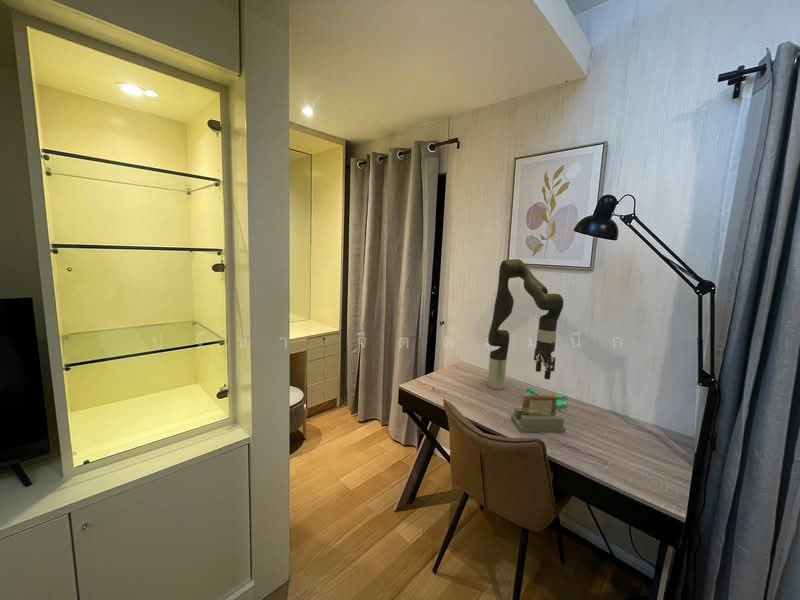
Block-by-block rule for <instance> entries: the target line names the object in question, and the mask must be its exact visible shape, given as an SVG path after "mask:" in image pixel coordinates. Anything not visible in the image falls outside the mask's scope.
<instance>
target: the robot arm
mask: <svg viewBox="0 0 800 600" xmlns="http://www.w3.org/2000/svg"><path fill="white" fill-rule="evenodd" d="M515 278H516V279H517V278H521V280H523V287H524V288H523V289H524V290H525V291H526V293H528V294H529V295H530V297H531V298H533V301H534V303H535V305H536V307H537V308H538V309H540V310H542V311H547V312H546V313H545V314H543V315H540V317H539V319H538V320H539V321H538V329H537V335H536V345H535V349H534V355H533V356H534V357H533V360H534V362H535V372H536V373H541V371H542V366H544V380H550V379H551V373H552V372H554V371H555V368H556V357H554V356H552V353H554V352H555V351H556V342H557V341H556V340H557V327H558V320H559V318H560V316H561V313H562V310H563V307H564V304H565V303H564V298H563V297H562V295H561V294H559V293H548V292H549V291H548V288H547V287H546V286H545V285H544V284H543V283H542V282H541V281H539V280H538V279H537V278H536V277H535V276H534V275H533V273H532V272H531V270H530V269H529V268H528V266H527V265H526V263H524V261H523V260H521V259H518V258H517V259H515V258H513V259H505V260H502V261H501V263H500V265H499V271H498V284H497V292H496V295H495V297H496V298H495V302H494V307H493V308H494V309H493V314H492V315H493V316H492V320H491V325H490V328H489V331H488V332H489V333H488V337H487V341H488V342H487V343H488V345H489V346H491V347H498V348H497V349H494V350H492V351H490V352H489V363H488V374H487V375H488V376H487V377H488V378H487V386H488V388H490V389H492V390H504V389H505V385H506V384H505V383H506V371H507V363H508V362H507V359H508V351H509V344H510V333H509V331H508V330H507V329H500V327H501V325H502V324H503V323H504V322H505V321H506V320H507V319H508V318H510V315H511V314H512V311H513V308H514V303H515V301H514V298H513V295H512V293H511V292H510V291H511V290H510V288H509V281H510V279H515Z"/></svg>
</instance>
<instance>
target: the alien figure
mask: <svg viewBox="0 0 800 600" xmlns="http://www.w3.org/2000/svg"><path fill="white" fill-rule="evenodd" d="M526 392H527V393H526ZM526 392H525V393H524V395H541V394H540V392H539V391H536V390H535V389H532V387H529V386H527V387H526ZM555 396H556V397H557V400H556V409H557V410H561V409H566V408H567V401H566V400H567V398H568V395H567V394H563V393H562V395H559V394H557V395H555ZM564 400H565V401H564ZM556 409H555V411H556Z"/></svg>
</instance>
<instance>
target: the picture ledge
mask: <svg viewBox="0 0 800 600" xmlns="http://www.w3.org/2000/svg"><path fill="white" fill-rule="evenodd" d="M513 411H514V412H513V414H512V415H511V416H510V420H511V421H512V423H513V424H514V426H515V427H516V428H517V429H518V431H519V432H520V433H566V429H567V428H566V426H564V423H565V421H564V420H565V418H564V417H563V416H562V415H561V414H559V415H556V412H557V411H556V410H555V415H522V407H514V410H513Z"/></svg>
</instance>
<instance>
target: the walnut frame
mask: <svg viewBox="0 0 800 600" xmlns="http://www.w3.org/2000/svg"><path fill="white" fill-rule="evenodd" d="M556 396H557V395H555V394H540V395H533V394H532V395H525V394H523V396H522V406H521V408H522V415H556V414H555V411H556V410H555V409H557V408H556V400H557V397H556Z"/></svg>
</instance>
